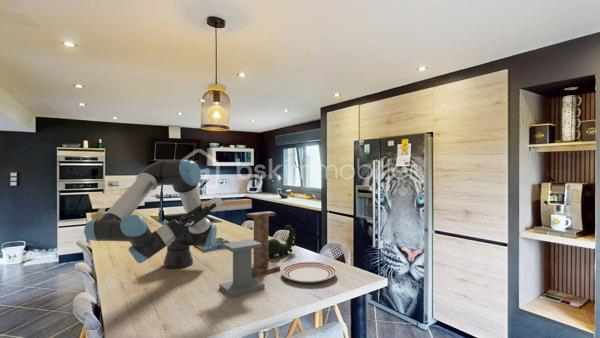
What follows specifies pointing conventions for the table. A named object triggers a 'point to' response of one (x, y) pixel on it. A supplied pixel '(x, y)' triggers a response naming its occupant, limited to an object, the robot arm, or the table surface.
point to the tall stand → (261, 236)
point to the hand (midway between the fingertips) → (219, 199)
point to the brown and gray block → (230, 205)
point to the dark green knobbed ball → (280, 248)
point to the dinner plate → (308, 272)
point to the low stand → (241, 269)
